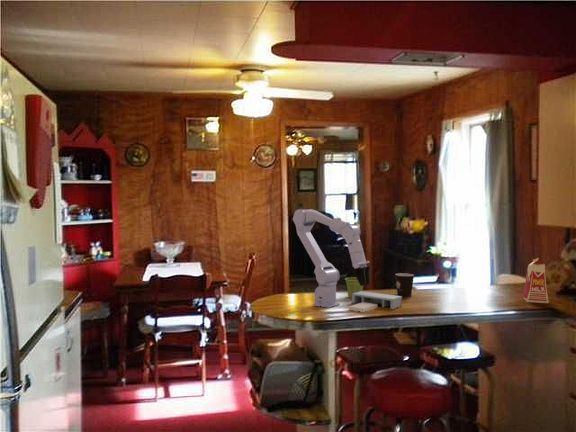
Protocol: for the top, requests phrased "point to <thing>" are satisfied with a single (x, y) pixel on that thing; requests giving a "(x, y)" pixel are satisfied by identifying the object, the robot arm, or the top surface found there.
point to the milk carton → (536, 283)
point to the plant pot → (353, 286)
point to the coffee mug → (404, 284)
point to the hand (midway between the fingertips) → (365, 285)
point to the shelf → (377, 299)
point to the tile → (363, 307)
